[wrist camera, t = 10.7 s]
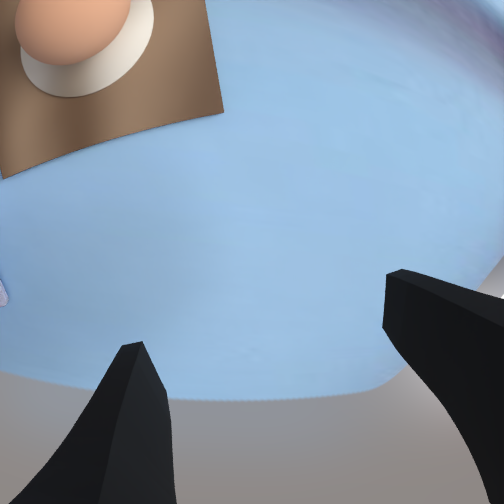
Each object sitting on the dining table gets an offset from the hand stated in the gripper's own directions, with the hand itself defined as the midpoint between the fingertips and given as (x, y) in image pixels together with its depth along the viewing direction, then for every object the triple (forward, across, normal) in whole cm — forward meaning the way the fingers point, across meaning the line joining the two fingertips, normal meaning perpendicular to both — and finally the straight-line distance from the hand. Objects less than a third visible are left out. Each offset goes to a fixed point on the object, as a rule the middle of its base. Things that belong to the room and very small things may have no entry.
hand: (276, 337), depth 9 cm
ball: (+6, +5, -12) cm, 14 cm away
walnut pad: (+9, +5, -12) cm, 16 cm away
